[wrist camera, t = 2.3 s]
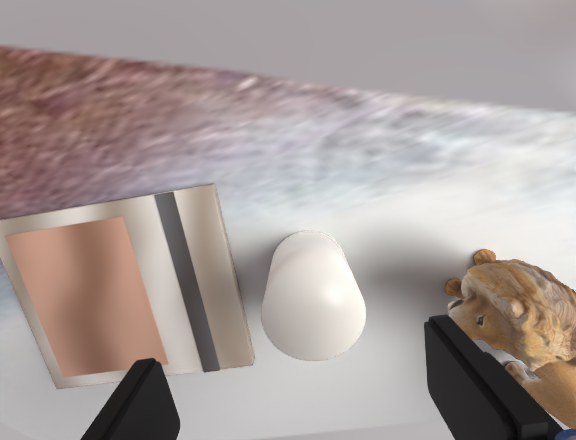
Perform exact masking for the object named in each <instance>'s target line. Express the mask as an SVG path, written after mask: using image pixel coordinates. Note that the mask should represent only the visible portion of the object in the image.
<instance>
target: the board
mask: <svg viewBox="0 0 576 440" xmlns="http://www.w3.org/2000/svg"><path fill="white" fill-rule="evenodd" d="M0 258H1V260H2V263H3V265H4V267H5V270H6V272H7V274H8V276H9V279H10V281H11V283H12V286H13V288H14V290H15V293H16V295H17V297H18V300H19V302H20V304H21V307H22V309H23V311H24V314H25V316H26V318H27V321H28V323H29V325H30V328H31V330H32V332H33V335H34V337H35V339H36V342H37V344H38V346H39V349H40V351H41V353H42V356H43V358H44V360H45V363H46V365H47V367H48V370H49V372H50V374H51V377H52V379H53V381H54V384H55V386H56V388H57V389H63V388H71V387H79V386H87V385H95V384H104V383H112V382H120V381H122V379H123V378H124V376H125V375H126V374H127V372H128V371H129V369H130V368H131V366H132V365H133V364H134V362H135V361H137V360H141V359H148V358H155V359H156V361H159V362H160V363H161V365H162V368H163V371H164V374H165V376H169V375H178V374H186V373H194V372H202V371H204V372H210V371H218V370H220V369H227V368H235V367H243V366H251V365H253V363H254V358H255V357H254V352H253V348H252V343H251V339H250V335H249V330H248V326H247V322H246V317H245V313H244V308H243V304H242V300H241V295H240V291H239V287H238V282H237V278H236V273H235V269H234V265H233V260H232V256H231V252H230V247H229V243H228V238H227V234H226V230H225V225H224V221H223V217H222V212H221V208H220V203H219V199H218V195H217V190H216V186H215V184H209V185H203V186H197V187H191V188H185V189H179V190H173V191H167V192H161V193H155V194H149V195H143V196H138V197H132V198H126V199H120V200H114V201H108V202H102V203H96V204H90V205H84V206H78V207H72V208H66V209H60V210H54V211H48V212H42V213H36V214H31V215H25V216H19V217H13V218H7V219H1V220H0Z"/></svg>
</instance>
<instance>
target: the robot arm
mask: <svg viewBox="0 0 576 440" xmlns="http://www.w3.org/2000/svg"><path fill="white" fill-rule="evenodd" d="M424 331H425V348H426V365H427V383H428V389H429V393H430V395H431V397H432V399H433V401H434V403H435V405H436V406H437V408H438V410H439V412H440V414H441V415H442V417H443V419H444V421H445V422H446V424H447V426H448V428H449V429H450V431H451V433H452V435H453V437H454V438H455V440H576V429H568V430H563V429H562V428H561V427H560V425H559V424H557V422H556V421H555V420H554V419H553V418H552V417H551V416H550V415H549V414H548V413H547V412H546V411H545V410H544V409H543V408H542V407H541V406H540V405H539V404H538V403H537V402H536V401H535V399H534V398H533V397H532V396H531V395H530V394H529V393H528V392H527V391H526V390H525V389H524V388H523V387H522V386H521V385H520V384H519V383H518V382H517V381H516V380H515V379H514V378H513V377H512V376H511V374H510V373H509V372H508V371H507V370H506V369H505V368H504V367H503V366H502V365H501V364H500V363H499V362H498V361H497V360H496V359H495V358H494V357H493V356H492V355H491V354H489V353H487V352H482V350H481V349H480V348H479V347H478V346H477V345H476V344H475V343H474V342H473V341H472V340H471V339H470V338H469V337H468V335H467V334H466V333H465V332H464V331H463V330H462V329H461V328H460V327H459V326H458V325H457V324H456V323H455V322H454V320H453V319H452V318H451V317H450V316H449V315H439V316H432V317H429V322H425V323H424ZM179 430H180V419H179V416H178V413H177V410H176V407H175V404H174V401H173V398H172V395H171V392H170V389H169V386H168V383H167V380H166V377H165V374H164V371H163V368H162V365H161V363H160V362H159V361H156V359H155V358H148V359H141V360H137V361H135V362H134V364H133V365H132V366H131V368H130V369H129V371H128V372H127V374H126V375H125V376H124V378H123V379H122V381H121V382H120V384H119V385H118V387H117V388H116V389H115V391H114V392H113V394H112V395H111V397H110V398H109V399H108V401H107V402H106V404H105V405H104V407H103V408H102V410H101V411H100V412H99V414H98V415H97V417H96V418H95V420H94V421H93V422H92V424H91V425H90V427H89V428H88V430H87V431H86V433H85V434H84V435H83V437H82V438H81V440H176V439H177V436H178V434H179Z"/></svg>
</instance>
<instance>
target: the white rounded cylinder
mask: <svg viewBox="0 0 576 440" xmlns="http://www.w3.org/2000/svg"><path fill="white" fill-rule="evenodd" d="M261 320H262V325H263V328H264V331H265V333H266V335H267V337H268V338H269V340H270V341H271V342H272V343H273V345H274V346H276V347H277V348H278V349H279V350H280V351H282V352H283V353H285V354H287V355H289V356H291V357H294V358H297V359H300V360H306V361H321V360H327V359H330V358H334V357H336V356H338V355H340V354H342V353H344V352H345V351H347V350H348V349H349V348H350V347H352V346H353V345H354V344H355V342H356V341H357V340H358V339H359V337H360V335H361V333H362V331H363V329H364V326H365V322H366V307H365V303H364V300H363V297H362V295H361V292H360V290H359V288H358V285H357V283H356V281H355V278H354V276H353V274H352V271H351V269H350V267H349V265H348V262H347V260H346V258H345V255H344V253H343V251H342V249H341V247H340V246H339V245H338V243H337V242H336V241H335V240H333V239H332V238H331V237H329V236H328V235H326V234H323V233H320V232H316V231H302V232H297V233H295V234H292V235H290V236H288V237H287V238H286V239H284V240H283V241H282V242H281V243H280V244H279V245H278V247H277V248H276V250H275V252H274V255H273V258H272V263H271V267H270V272H269V276H268V281H267V285H266V290H265V294H264V299H263V303H262V309H261Z"/></svg>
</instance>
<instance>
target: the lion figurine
mask: <svg viewBox="0 0 576 440" xmlns="http://www.w3.org/2000/svg"><path fill="white" fill-rule="evenodd" d="M474 260H475V262H476V264H477V266H473V267H471V268H470V269H468V270H467V273H466V275H465V276H464V279H463V280H462V281H461V280H460V279H456V278H454V279H452V280H449V281H448V283H447V284H446V293H447V294H448V295H452V296H456V297H458V298H460V299H461V300H458V301H452V302H450V303H449V304H448V311H449V316H450V317H451V318H452V319H453V320H454V322H455V323H456V324H457V325H458V326H459V327H460V328H461V329H462V330H463V331H464V332H465V333H466V334H467V335H468V337H469V338H470V339H478V340H483V341H485V342H486V343H488V344H489V345H490V346H491V347H492V348H494V349H497V350H498V349H503V351H505V352H507V353H509V354H511V355H512V356H513V357H515V358H516V359H518V360H522V361H523V362H524V363H525V364H526V365H527V366H528V368H529V369H530V371H531V372H534V373H535V374H536V375H537V376H538V377H539V378H540V379H533V378H530V377H529V376H528V375H527V374H526V372H525V370H524V368H523V367H522V366H521V365H520V364H519V363H518V362H509V363H508V364H507V365H506V366H505V369H506V370H507V371H508V372H509V373H510V374H511V376H512V377H513V378H514V379H515V380H516V381H517V382H518V383H519V384H520V385H522V386H523V388H524V389H525V390H526V391H527V392H528V393H529V394H530V395H531V396H533V397H534V398H535V400H536V401H537V402H538V403H539V404H540V405H541V406H542V407H543V408H544V409H545V410H546V411H547V412H548V413H550V414H551V415H553V416H554V417H556V418H557V419H558V420H560V421H561V422H562V423H564V424H565V425H566V426H568V427H569V428H571V429H576V292H575V291H574V290H572V289H570V288H569V287H568V286H566V285H564V284H563V283H561V282H560V281H558V280H557V279H556V278H555V277H554V276H553V274H552V273H550V272H548V271H544V270H542V269H540V268H539V267H537V266H532V265H530V264H527V263H525V262H524V261H520V260H516V259H513V260H510V261H507V260H502V261H501V260H496V255H495V253H494V252H492V251H490V250H486V249H484V250H480V251H478V252H477V254H476V255H475V256H474Z"/></svg>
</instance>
